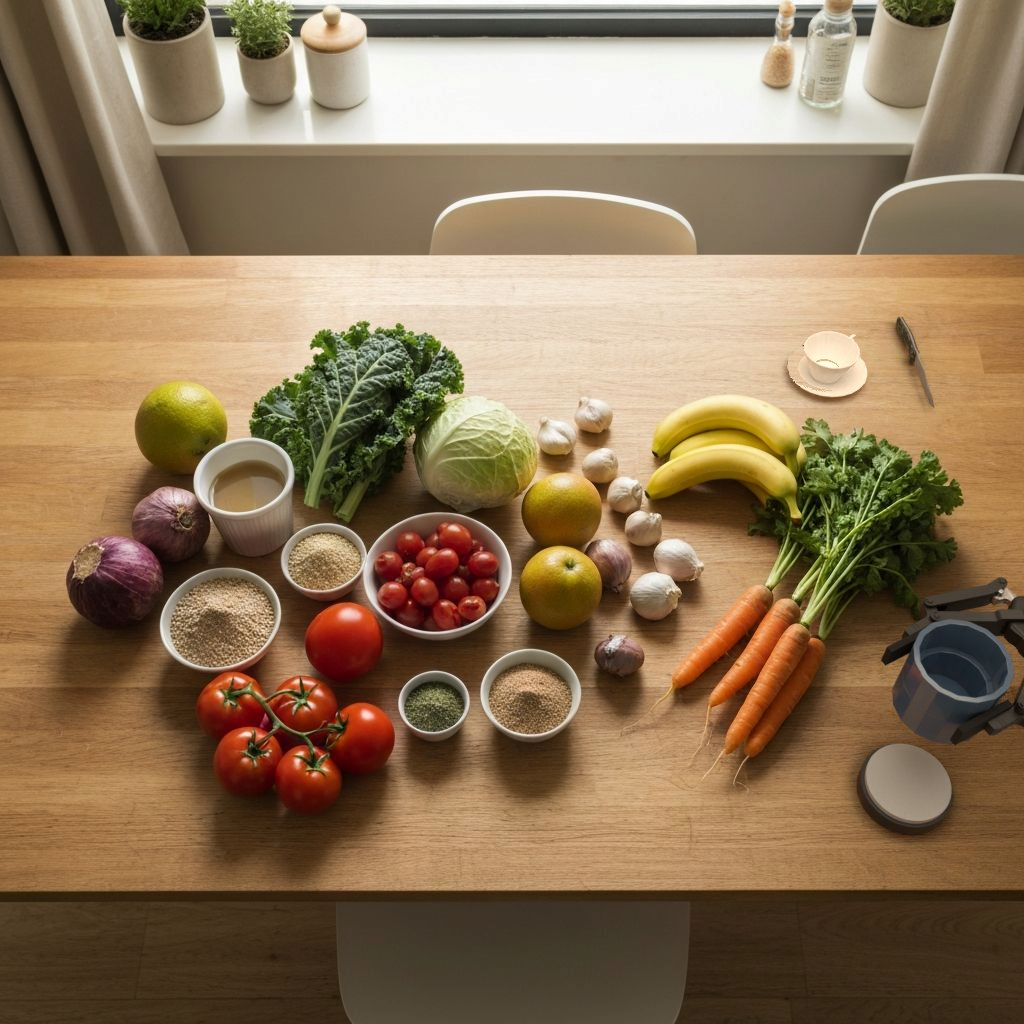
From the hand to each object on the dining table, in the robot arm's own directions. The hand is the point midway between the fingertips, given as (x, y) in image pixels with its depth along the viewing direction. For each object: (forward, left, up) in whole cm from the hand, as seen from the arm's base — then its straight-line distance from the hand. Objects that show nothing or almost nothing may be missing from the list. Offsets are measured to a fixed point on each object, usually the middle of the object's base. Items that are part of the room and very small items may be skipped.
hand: (920, 695), depth 110 cm
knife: (+19, -66, -18) cm, 71 cm away
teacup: (+30, -58, -18) cm, 68 cm away
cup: (-2, -4, -6) cm, 7 cm away
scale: (-3, +1, -18) cm, 18 cm away
